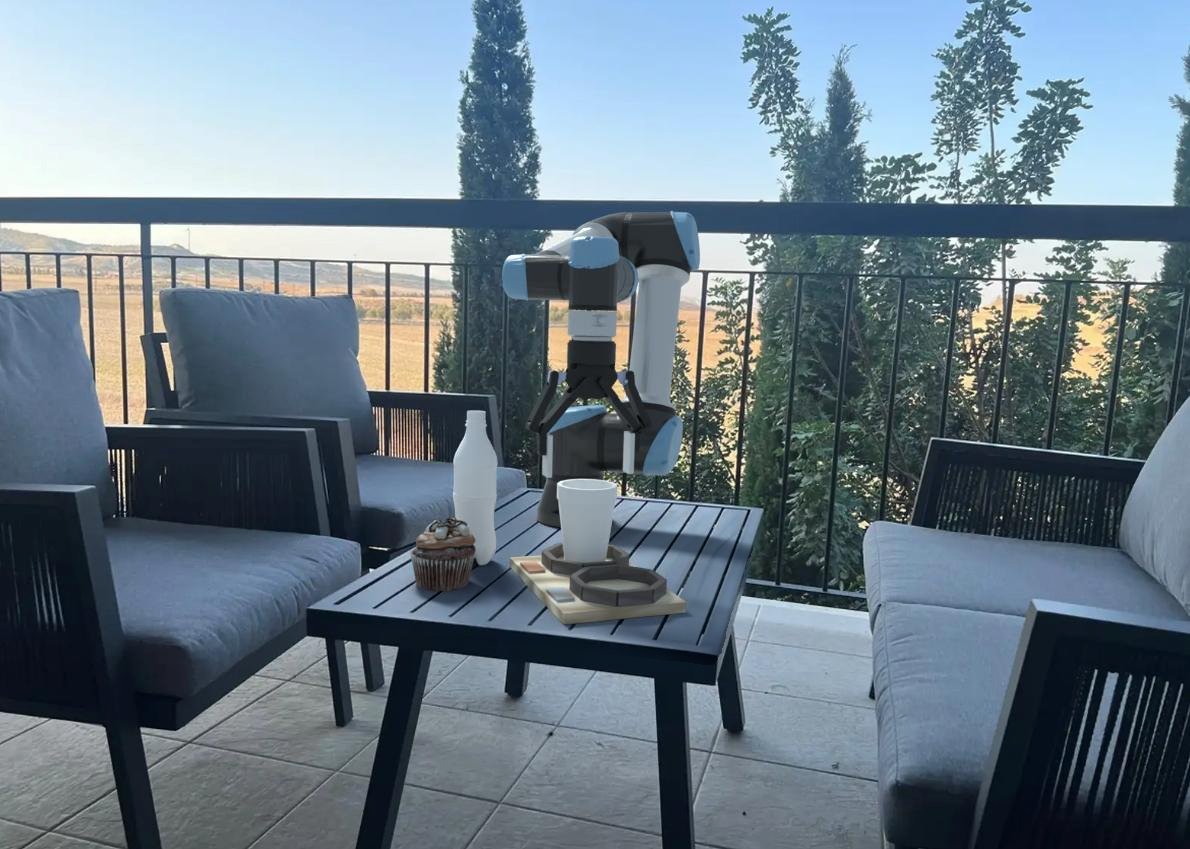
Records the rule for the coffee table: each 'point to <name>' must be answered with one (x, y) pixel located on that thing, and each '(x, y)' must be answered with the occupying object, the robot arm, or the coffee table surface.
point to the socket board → (596, 586)
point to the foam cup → (586, 518)
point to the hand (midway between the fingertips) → (588, 474)
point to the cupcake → (444, 555)
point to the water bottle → (476, 485)
